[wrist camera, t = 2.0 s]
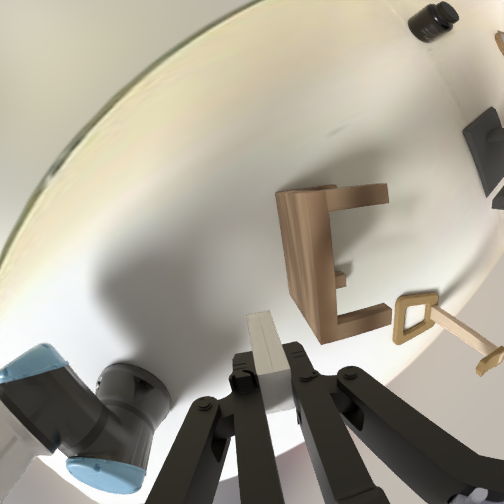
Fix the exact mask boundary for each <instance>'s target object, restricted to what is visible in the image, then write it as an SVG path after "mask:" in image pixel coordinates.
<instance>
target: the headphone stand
mask: <svg viewBox="0 0 504 504" xmlns="http://www.w3.org/2000/svg"><path fill="white" fill-rule="evenodd" d="M438 299H439V297H438V295H437V294H435V293H426V294H418V295H408V296H401V297H399V298H398V299H397V301H396V304H395V318H394V330H393V342H394V343H395V344H396V345H401V344H403V343H405V342H407V341H408V340H410V339H412V338H414V337H416V336H417V335H419V334H421V333H423V332H424V331H426V330H428V329H429V328H431V327H433V326H434V324H435V322H436V323H437V324H439V325H440V326H442V327H443V328H445V329H446V330H448V331H450V332H451V333H452V334H454V335H455V336H457V337H459V338H460V339H462V340H463V341H464V342H466V343H467V344H469V345H470V346H472V347H473V348H475V349H476V350H478V351H479V352H480V353H482V354H483V355H485V356H486V357H484V358H483V359H482V360H480V362H479V364H478V366H477V367H476V373H477V374H478V375H479V376H480V377H481V376H482V375H483V374H484V373H485V372H486V371H488V370H489V369H491V368H493V367H496V366H497V365H498V364H500V363H501V362H502V361H503V358H504V347H503V346H500V347H499V348H498V347H497V346H495V345H494V344H492V343H491V342H490V341H488V340H487V339H486V338H484V337H483V336H481V335H480V334H478V333H477V332H476V331H474V330H473V329H471V328H470V327H468V326H467V325H465V324H464V323H462V322H461V321H459V320H458V319H456V318H455V317H453V316H452V315H450V314H449V313H447V312H446V311H444V310H443V309H441V308H440V307H438ZM421 304H426V309H425V317H424V321H423V322H422V323H420V324H418V325H416V326H414V327H413V328H411V329H409V330H407V331H405V332H403V329H404V319H405V310H406V308H407V307H409V306H414V305H421Z"/></svg>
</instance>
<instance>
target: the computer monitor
mask: <svg viewBox="0 0 504 504" xmlns="http://www.w3.org/2000/svg"><path fill="white" fill-rule="evenodd" d="M463 134H464V136H465V139H466V141H467V143H468V146H469V148H470V151H471V153H472V156H473V158H474V161H475V164H476V167H477V169H478V172H479V175H480V178H481V181H482V184H483V188H484V191H485V194H486V198H487V197H488V196H489V194H490V193H491V192H492V191H493V190H494V188H495V187H496V186H497V185H498V183H499V182H500V181H501V180H502V178H503V177H504V128H502V126H501V123H500V120H499V117H498V114H497V112H496V109H494V108H493V107H491V108H490V109H488V110H487V111H486V112H485V113H484V114H483V115H481V116H480V117H479V118H478V119H477V120H475V121H474V122H473V123H472V124H471V125H469V126H468V127H467V128H466V129H465V130H463ZM492 209H501V210H504V186H503V187H502V189H501V190H500V191H499V192H498V194H497V195H496V196H495V198H494V199H493V202H492Z"/></svg>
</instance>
